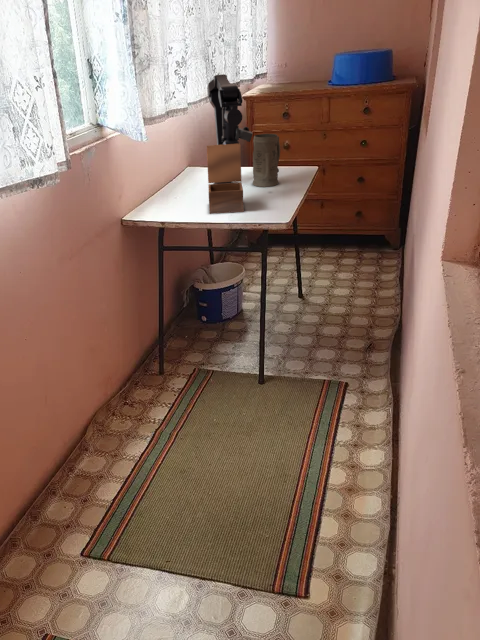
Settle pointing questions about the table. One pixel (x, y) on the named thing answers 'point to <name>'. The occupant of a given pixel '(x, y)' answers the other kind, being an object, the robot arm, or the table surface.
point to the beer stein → (266, 160)
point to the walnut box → (225, 198)
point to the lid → (224, 163)
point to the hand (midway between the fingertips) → (231, 164)
